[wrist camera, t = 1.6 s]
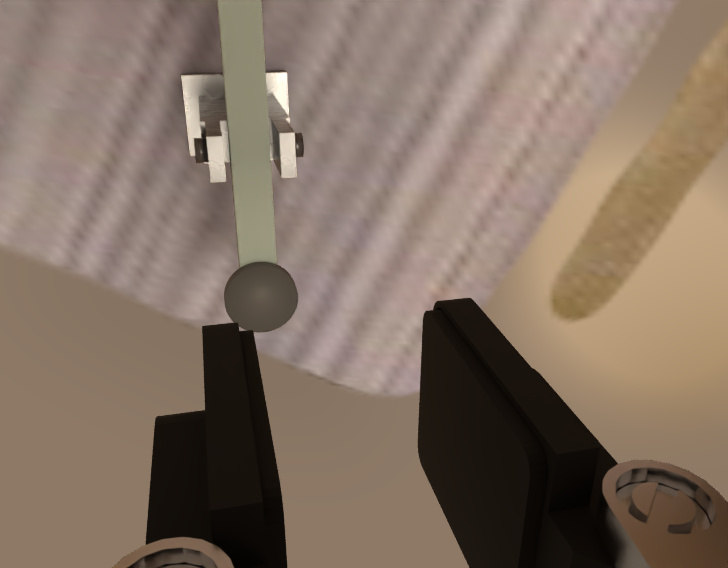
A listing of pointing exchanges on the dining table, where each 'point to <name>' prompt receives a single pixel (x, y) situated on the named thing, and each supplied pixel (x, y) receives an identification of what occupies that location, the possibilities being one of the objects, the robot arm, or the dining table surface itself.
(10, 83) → the dining table surface
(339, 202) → the dining table surface
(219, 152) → the pivot stand
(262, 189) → the lever
